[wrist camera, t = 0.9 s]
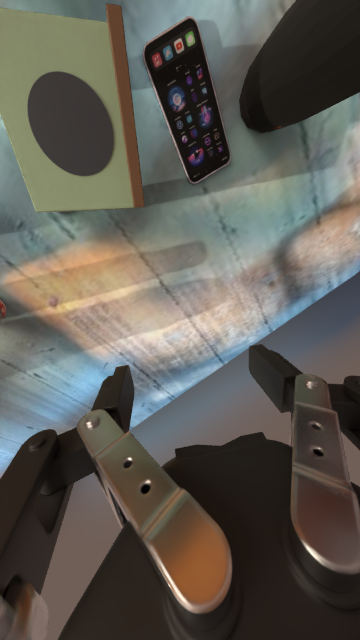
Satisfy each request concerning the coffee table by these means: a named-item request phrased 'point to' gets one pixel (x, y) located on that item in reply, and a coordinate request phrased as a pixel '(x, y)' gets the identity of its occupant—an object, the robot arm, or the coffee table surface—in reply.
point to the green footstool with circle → (70, 110)
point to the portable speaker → (304, 65)
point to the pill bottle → (2, 310)
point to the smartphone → (188, 98)
